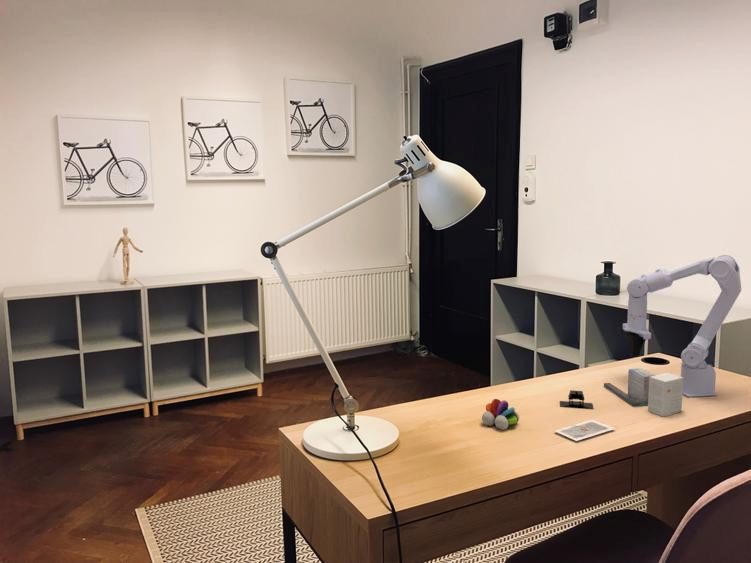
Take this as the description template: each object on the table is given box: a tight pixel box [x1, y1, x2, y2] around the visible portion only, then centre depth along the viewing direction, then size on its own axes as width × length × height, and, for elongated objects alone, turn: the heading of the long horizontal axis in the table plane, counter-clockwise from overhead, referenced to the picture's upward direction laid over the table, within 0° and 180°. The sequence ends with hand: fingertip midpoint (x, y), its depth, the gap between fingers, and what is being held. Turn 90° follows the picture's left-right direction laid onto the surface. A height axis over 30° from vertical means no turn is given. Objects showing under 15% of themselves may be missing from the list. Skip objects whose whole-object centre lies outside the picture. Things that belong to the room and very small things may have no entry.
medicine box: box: [627, 367, 656, 401], centre depth 198 cm, size 8×4×9 cm, turn 13°
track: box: [603, 382, 648, 408], centre depth 202 cm, size 11×19×1 cm, turn 6°
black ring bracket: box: [559, 389, 594, 410], centre depth 194 cm, size 12×7×5 cm, turn 75°
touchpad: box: [554, 419, 616, 442], centre depth 174 cm, size 8×15×2 cm, turn 121°
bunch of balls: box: [481, 398, 520, 431], centre depth 179 cm, size 8×10×7 cm
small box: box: [647, 372, 684, 418], centre depth 187 cm, size 8×6×10 cm
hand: (635, 355), depth 212 cm, fingers closed
